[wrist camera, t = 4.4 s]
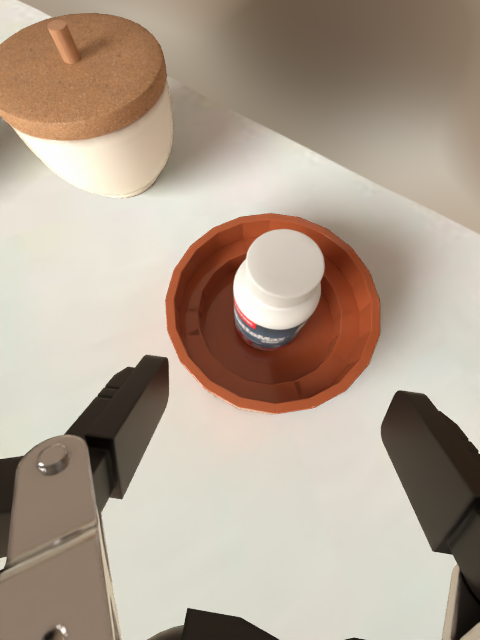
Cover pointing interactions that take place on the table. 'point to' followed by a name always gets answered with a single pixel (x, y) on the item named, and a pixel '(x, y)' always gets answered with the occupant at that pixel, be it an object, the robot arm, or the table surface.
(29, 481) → the robot arm
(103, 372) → the table surface
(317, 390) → the terracotta bowl
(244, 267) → the pill bottle
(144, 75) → the lidded bowl
